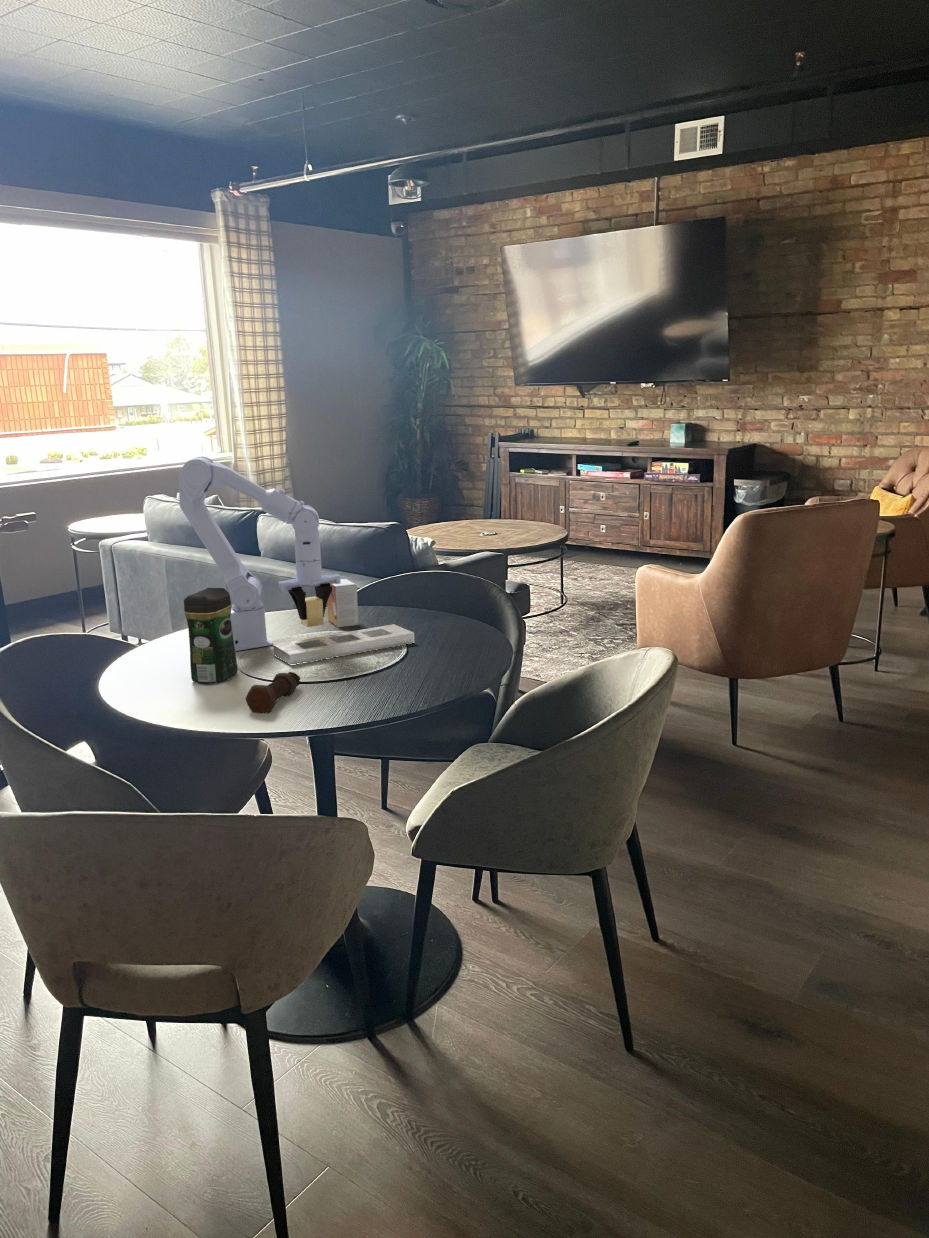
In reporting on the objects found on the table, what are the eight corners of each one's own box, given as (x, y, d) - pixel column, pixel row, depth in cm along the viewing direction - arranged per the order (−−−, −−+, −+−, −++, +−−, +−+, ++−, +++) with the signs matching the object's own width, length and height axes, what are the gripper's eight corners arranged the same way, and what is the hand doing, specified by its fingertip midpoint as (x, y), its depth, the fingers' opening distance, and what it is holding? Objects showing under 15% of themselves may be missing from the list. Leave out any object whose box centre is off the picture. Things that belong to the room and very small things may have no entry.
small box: (327, 621, 232) (325, 580, 230) (349, 618, 235) (346, 578, 232) (337, 627, 225) (334, 586, 223) (359, 625, 227) (356, 583, 225)
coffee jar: (209, 670, 192) (201, 584, 188) (243, 672, 190) (236, 585, 186) (184, 684, 183) (175, 594, 179) (220, 687, 181) (211, 595, 177)
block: (307, 627, 210) (306, 601, 208) (301, 623, 213) (299, 598, 211) (323, 624, 212) (322, 599, 210) (317, 621, 215) (315, 596, 214)
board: (290, 666, 194) (289, 654, 193) (273, 655, 202) (273, 644, 202) (414, 643, 209) (414, 632, 209) (394, 634, 217) (393, 624, 217)
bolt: (298, 697, 180) (264, 721, 166) (277, 684, 180) (241, 706, 166) (310, 673, 178) (277, 695, 164) (289, 659, 179) (254, 680, 164)
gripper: (284, 565, 202) (288, 625, 205) (344, 558, 209) (347, 616, 212) (273, 561, 208) (277, 619, 211) (332, 554, 215) (335, 610, 218)
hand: (311, 617), depth 212 cm, fingers closed on block, 4 cm apart
